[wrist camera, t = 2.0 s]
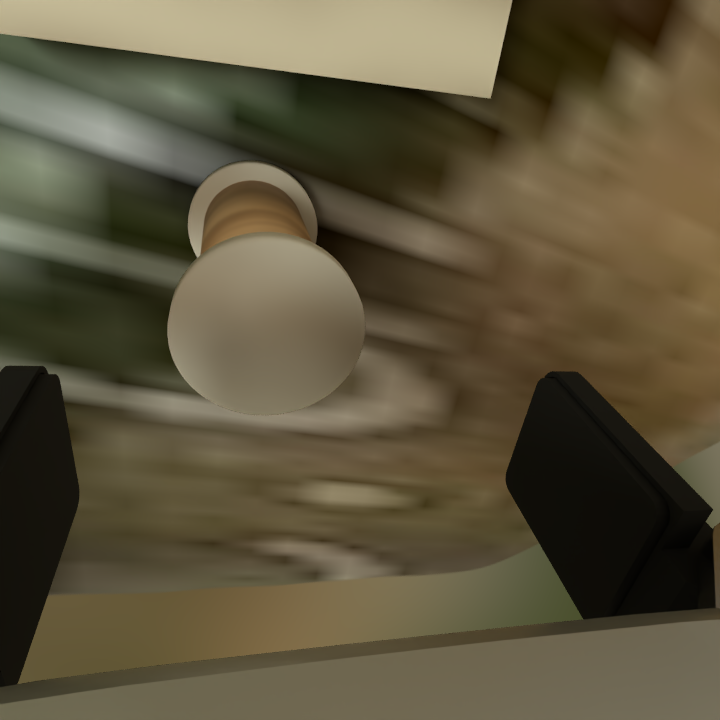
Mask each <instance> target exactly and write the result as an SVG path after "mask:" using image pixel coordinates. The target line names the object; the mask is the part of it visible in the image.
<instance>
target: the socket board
mask: <svg viewBox="0 0 720 720" xmlns="http://www.w3.org/2000/svg"><path fill="white" fill-rule="evenodd" d="M511 4H512V0H0V33H1V34H8V35H16V36H23V37H31V38H38V39H46V40H53V41H61V42H68V43H76V44H84V45H91V46H99V47H106V48H114V49H121V50H129V51H136V52H144V53H151V54H159V55H166V56H174V57H181V58H189V59H197V60H204V61H212V62H219V63H227V64H234V65H242V66H249V67H257V68H264V69H272V70H279V71H287V72H295V73H302V74H310V75H317V76H325V77H332V78H340V79H347V80H355V81H362V82H370V83H377V84H385V85H392V86H400V87H408V88H415V89H423V90H430V91H438V92H445V93H453V94H460V95H468V96H475V97H483V98H490V99H491V94H492V90H493V85H494V81H495V76H496V72H497V67H498V63H499V58H500V54H501V49H502V45H503V40H504V36H505V31H506V27H507V22H508V18H509V13H510V9H511Z"/></svg>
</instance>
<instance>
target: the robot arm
mask: <svg viewBox="0 0 720 720" xmlns="http://www.w3.org/2000/svg"><path fill="white" fill-rule="evenodd" d="M506 485H507V488H508V490H509V492H510V494H511V495H512V497H513V499H514V500H515V502H516V504H517V506H518V507H519V509H520V511H521V513H522V514H523V516H524V518H525V519H526V521H527V523H528V525H529V526H530V528H531V530H532V531H533V533H534V535H535V537H536V538H537V540H538V542H539V544H540V545H541V547H542V549H543V550H544V552H545V554H546V556H547V557H548V559H549V561H550V562H551V564H552V566H553V568H554V569H555V571H556V573H557V575H558V576H559V578H560V580H561V581H562V583H563V585H564V587H565V588H566V590H567V592H568V594H569V595H570V597H571V599H572V600H573V602H574V604H575V606H576V607H577V609H578V611H579V613H580V614H581V616H582V618H583V619H584V620H574V621H564V622H554V623H544V624H534V625H524V626H514V627H505V628H495V629H486V630H476V631H467V632H457V633H448V634H438V635H429V636H419V637H410V638H401V639H392V640H382V641H373V642H364V643H354V644H345V645H335V646H326V647H318V648H309V649H301V650H291V651H282V652H273V653H264V654H256V655H246V656H237V657H228V658H219V659H211V660H201V661H192V662H184V663H175V664H166V665H157V666H149V667H143V668H134V669H127V670H119V671H111V672H103V673H95V674H88V675H79V676H71V677H64V678H56V679H49V680H41V681H34V682H28V683H22V684H17V683H18V681H19V678H20V675H21V672H22V669H23V667H24V664H25V661H26V657H27V655H28V652H29V648H30V646H31V643H32V640H33V637H34V634H35V631H36V628H37V625H38V622H39V619H40V616H41V613H42V610H43V607H44V605H45V602H46V599H47V596H48V593H49V590H50V587H51V584H52V581H53V578H54V575H55V572H56V569H57V566H58V563H59V561H60V558H61V555H62V552H63V549H64V546H65V543H66V540H67V537H68V534H69V531H70V528H71V525H72V522H73V519H74V516H75V513H76V510H77V507H78V502H79V485H78V479H77V473H76V468H75V462H74V457H73V451H72V446H71V440H70V434H69V429H68V423H67V418H66V412H65V407H64V401H63V396H62V390H61V384H60V380H59V377H58V376H57V375H56V374H48V372H47V370H46V368H45V367H43V366H5V367H4V368H3V369H2V370H1V372H0V720H720V523H718V524H717V525H716V526H715V527H714V528H713V529H712V528H711V527H710V526H709V525H708V524H707V523H706V520H707V518H708V517H709V515H710V514H711V512H712V511H713V509H712V508H711V507H710V506H709V505H708V504H707V503H706V502H705V501H704V500H703V499H702V498H701V497H700V496H699V495H698V494H697V493H696V492H695V490H693V488H691V486H690V485H689V484H688V483H687V482H686V481H685V480H684V479H683V478H682V477H681V476H680V475H679V474H678V473H677V472H676V471H675V470H674V469H673V468H672V467H671V466H670V465H669V464H668V463H667V462H666V461H665V460H664V459H663V458H662V457H661V456H660V455H659V454H658V453H657V452H656V451H655V450H654V449H653V448H652V447H651V446H650V445H649V444H648V443H647V442H646V441H645V440H644V438H643V437H642V436H641V435H640V434H639V433H638V432H637V431H636V430H635V429H634V428H633V427H632V426H631V425H630V424H629V423H628V422H627V421H626V420H625V419H624V418H623V417H622V416H621V415H620V414H619V413H618V412H617V411H616V410H615V409H614V408H613V407H612V406H611V405H610V404H609V403H608V402H607V401H606V400H605V399H604V398H603V397H602V396H601V395H600V394H599V393H598V392H597V391H596V390H595V389H594V388H593V387H592V385H591V384H590V383H589V382H588V381H587V380H586V379H585V378H584V377H583V376H582V375H581V374H579V373H578V372H554V371H552V372H549V373H548V374H547V375H546V376H545V378H542V379H540V380H539V381H538V383H537V386H536V389H535V392H534V394H533V397H532V400H531V403H530V406H529V409H528V412H527V414H526V417H525V420H524V423H523V426H522V429H521V431H520V434H519V437H518V440H517V443H516V446H515V449H514V451H513V454H512V457H511V460H510V463H509V466H508V469H507V472H506Z"/></svg>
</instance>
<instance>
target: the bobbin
mask: <svg viewBox="0 0 720 720" xmlns="http://www.w3.org/2000/svg"><path fill="white" fill-rule="evenodd" d="M188 232H189V238H190V242H191V245H192V248H193V250H194V252H195V254H196V256H197V259H196V260H195V261H194V262H193V263H192V264H191V265H190V266H189V267H188V269H187V270H186V271H185V273H184V274H183V275H182V277H181V279H180V281H179V283H178V285H177V287H176V289H175V292H174V295H173V298H172V303H171V308H170V314H169V319H168V342H169V348H170V352H171V355H172V358H173V360H174V362H175V365H176V367H177V369H178V370H179V372H180V373H181V375H182V376H183V378H184V379H185V380H186V381H187V383H188V384H189V385H190V386H191V387H192V388H193V389H194V390H195V391H197V392H198V393H199V394H200V395H202V396H203V397H204V398H206V399H207V400H209V401H211V402H213V403H215V404H217V405H218V406H220V407H223V408H226V409H229V410H231V411H235V412H239V413H243V414H251V415H278V414H284V413H289V412H293V411H296V410H300V409H303V408H305V407H308V406H310V405H312V404H314V403H316V402H318V401H320V400H321V399H323V398H324V397H326V396H327V395H329V394H330V393H332V392H333V391H334V390H335V389H336V388H337V387H338V386H340V384H341V383H342V382H343V381H344V380H345V379H346V378H347V377H348V375H349V374H350V372H351V371H352V369H353V368H354V366H355V364H356V362H357V360H358V359H359V356H360V353H361V350H362V347H363V343H364V338H365V315H364V310H363V305H362V303H361V300H360V297H359V295H358V293H357V291H356V289H355V287H354V285H353V283H352V281H351V279H350V277H349V276H348V274H347V272H346V271H345V270H344V268H343V267H342V266H341V264H340V263H339V262H338V261H337V260H336V259H335V258H334V257H333V256H332V255H331V254H329V253H328V252H327V251H325V250H324V249H323V248H321V247H320V246H318V245H316V239H317V218H316V214H315V210H314V208H313V205H312V203H311V201H310V199H309V197H308V195H307V193H306V191H305V190H304V188H303V187H302V186H301V184H300V183H299V182H298V181H297V180H296V179H295V178H294V177H293V176H292V175H290V174H289V173H288V172H286V171H285V170H283V169H281V168H280V167H277V166H275V165H273V164H270V163H266V162H262V161H256V160H244V161H237V162H233V163H229V164H227V165H224V166H222V167H220V168H218V169H217V170H215V171H214V172H212V173H211V174H210V175H209V176H207V178H206V179H205V180H204V181H203V182H202V183H201V184H200V186H199V187H198V189H197V191H196V193H195V195H194V197H193V199H192V202H191V206H190V211H189V217H188Z"/></svg>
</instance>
